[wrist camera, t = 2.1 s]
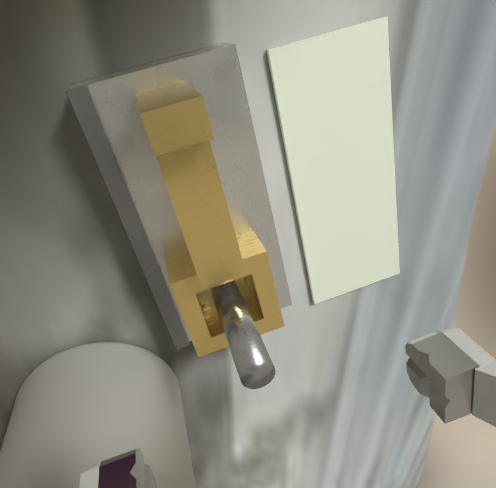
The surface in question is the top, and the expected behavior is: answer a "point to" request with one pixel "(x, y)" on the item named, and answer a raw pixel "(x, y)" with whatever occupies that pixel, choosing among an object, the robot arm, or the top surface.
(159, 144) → the brass hook
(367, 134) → the sage mat
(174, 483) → the cylinder vase
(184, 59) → the toggle switch block
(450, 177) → the top surface
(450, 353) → the robot arm
